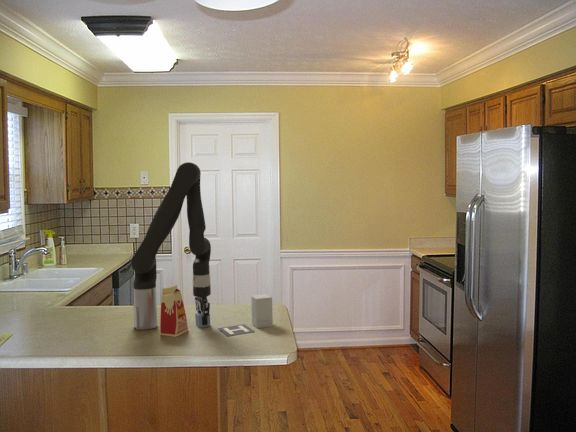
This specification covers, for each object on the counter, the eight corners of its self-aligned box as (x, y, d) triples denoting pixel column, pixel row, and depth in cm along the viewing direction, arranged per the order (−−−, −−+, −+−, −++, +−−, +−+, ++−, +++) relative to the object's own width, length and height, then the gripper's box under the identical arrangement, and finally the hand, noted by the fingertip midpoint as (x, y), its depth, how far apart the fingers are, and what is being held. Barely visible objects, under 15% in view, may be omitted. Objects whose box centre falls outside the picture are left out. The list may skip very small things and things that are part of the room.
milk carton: (188, 330, 218) (186, 283, 216) (176, 337, 209) (175, 288, 208) (169, 328, 221) (167, 282, 219) (157, 335, 212) (155, 286, 211)
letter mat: (227, 336, 209) (227, 335, 209) (217, 328, 219) (217, 328, 219) (255, 331, 214) (255, 331, 214) (244, 324, 225) (244, 324, 225)
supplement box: (273, 326, 221) (272, 297, 220) (256, 328, 219) (255, 299, 218) (267, 321, 228) (267, 293, 227) (251, 323, 226) (250, 295, 225)
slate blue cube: (199, 327, 222) (198, 316, 221) (195, 324, 226) (195, 313, 226) (210, 325, 224) (209, 314, 223) (206, 322, 228) (206, 311, 228)
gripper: (188, 282, 228) (189, 320, 230) (198, 288, 215) (199, 328, 217) (205, 280, 231) (206, 318, 233) (215, 286, 219) (216, 326, 220)
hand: (203, 323), depth 225 cm, fingers closed on slate blue cube, 5 cm apart
